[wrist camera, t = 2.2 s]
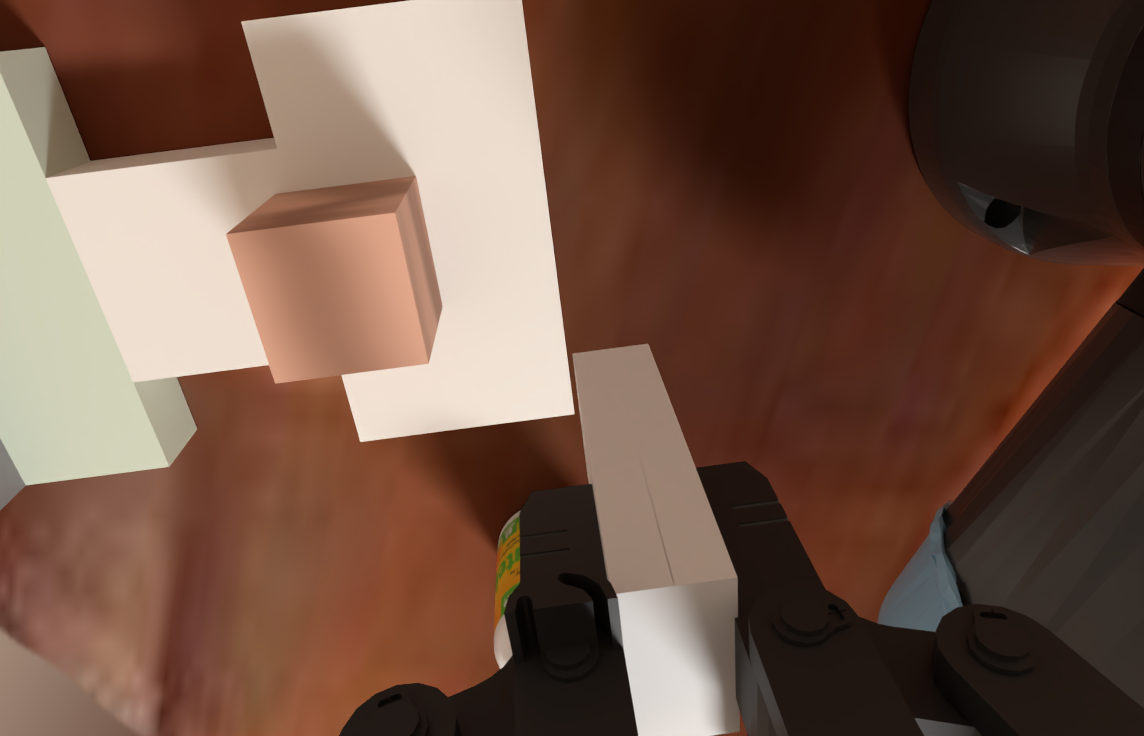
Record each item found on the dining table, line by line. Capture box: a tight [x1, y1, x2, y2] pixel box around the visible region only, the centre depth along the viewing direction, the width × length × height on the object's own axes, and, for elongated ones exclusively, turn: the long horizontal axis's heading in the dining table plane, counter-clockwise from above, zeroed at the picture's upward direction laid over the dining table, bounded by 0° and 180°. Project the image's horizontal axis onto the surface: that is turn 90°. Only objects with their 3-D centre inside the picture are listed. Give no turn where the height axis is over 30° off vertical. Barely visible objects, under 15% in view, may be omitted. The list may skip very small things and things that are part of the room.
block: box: [226, 176, 443, 384], centre depth 25 cm, size 5×5×5 cm
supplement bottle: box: [494, 510, 521, 669], centre depth 34 cm, size 5×5×10 cm
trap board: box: [0, 0, 574, 510], centre depth 28 cm, size 24×16×6 cm, turn 96°
